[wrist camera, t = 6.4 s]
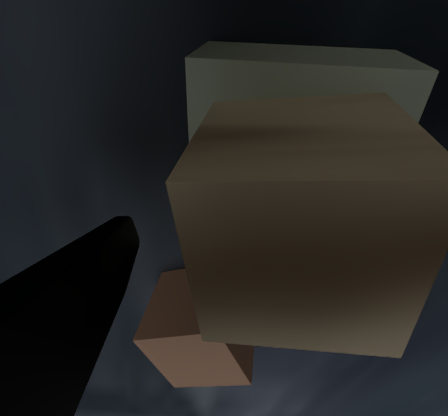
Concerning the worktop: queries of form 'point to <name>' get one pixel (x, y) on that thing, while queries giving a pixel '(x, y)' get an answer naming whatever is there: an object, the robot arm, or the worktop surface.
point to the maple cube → (311, 222)
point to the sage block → (300, 75)
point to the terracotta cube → (187, 340)
